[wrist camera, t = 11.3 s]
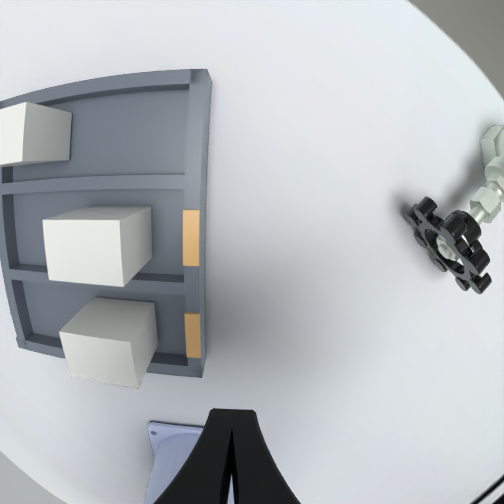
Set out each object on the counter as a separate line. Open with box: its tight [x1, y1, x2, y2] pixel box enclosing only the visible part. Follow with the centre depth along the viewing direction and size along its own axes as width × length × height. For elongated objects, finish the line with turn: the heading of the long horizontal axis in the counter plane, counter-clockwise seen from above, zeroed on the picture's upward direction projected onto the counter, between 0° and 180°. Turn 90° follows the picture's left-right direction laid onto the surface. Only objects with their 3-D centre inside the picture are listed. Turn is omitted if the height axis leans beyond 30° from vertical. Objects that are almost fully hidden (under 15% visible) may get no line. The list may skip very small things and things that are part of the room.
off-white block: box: [43, 206, 152, 287], centre depth 14 cm, size 3×4×4 cm
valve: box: [405, 125, 504, 294], centre depth 14 cm, size 7×7×12 cm
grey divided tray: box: [0, 69, 212, 378], centre depth 16 cm, size 17×14×3 cm
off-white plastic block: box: [0, 102, 72, 167], centre depth 12 cm, size 3×4×4 cm
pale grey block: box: [59, 297, 158, 389], centre depth 15 cm, size 3×4×4 cm
